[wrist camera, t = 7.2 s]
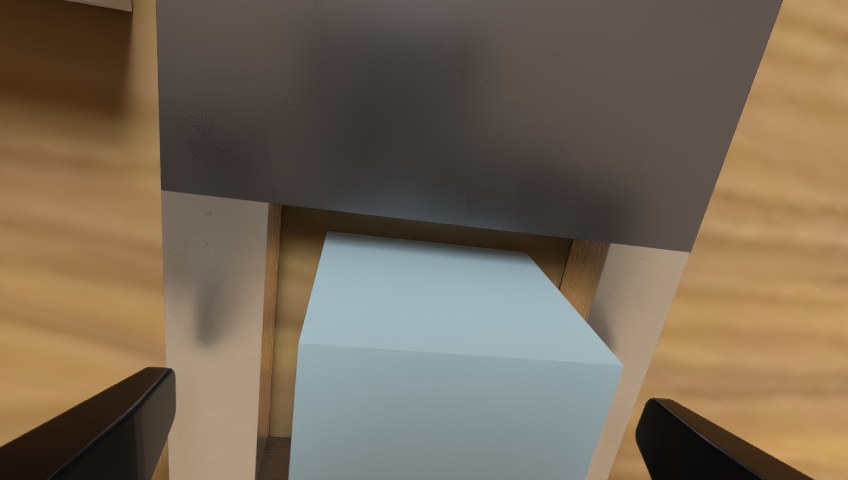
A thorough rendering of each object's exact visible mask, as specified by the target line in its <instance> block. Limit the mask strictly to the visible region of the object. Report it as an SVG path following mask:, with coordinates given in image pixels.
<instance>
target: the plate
mask: <svg viewBox="0 0 848 480" xmlns="http://www.w3.org/2000/svg"><path fill="white" fill-rule="evenodd" d="M782 2H783V0H156V20H157V56H158V92H159V128H160V164H161V200H162V236H163V273H164V309H165V345H166V368H172V369H173V370H174V372H175V376H176V413H175V418H174V421H173V424H172V427H171V429H170V432H169V434H168V453H169V480H288V478H289V465H290V451H291V438H282V437H268V434H269V417H270V400H271V383H272V366H273V349H274V332H275V315H276V298H277V281H278V265H279V248H280V231H281V214H282V205H290V206H299V207H307V208H316V209H324V210H333V211H341V212H350V213H358V214H367V215H375V216H384V217H392V218H401V219H409V220H418V221H426V222H435V223H443V224H452V225H460V226H469V227H477V228H486V229H494V230H503V231H511V232H520V233H528V234H537V235H545V236H554V237H562V238H571V239H573V243H572V247H571V250H570V254H569V257H568V261H567V265H566V268H565V272H564V275H563V279H562V283H561V286H560V290H559V291H560V292H561V294H562V295H563V296H564V297H565V298H566V299H567V300H568V302H569V303H570V304H571V305H572V306H573V307H574V309H575V310H576V311H577V312H578V313H579V314H580V315H581V317H582V318H583V319H584V320H585V321H586V322H587V324H588V325H589V326H590V327H591V328H592V329H593V330H594V332H595V333H596V334H597V335H598V336H599V337H600V339H601V340H602V341H603V342H604V343H605V344H606V345H607V347H608V348H609V349H610V350H611V351H612V352H613V354H614V355H615V356H616V357H617V358H618V359H619V360H620V362H621V363H622V364H623V365H624V367H623V370H622V373H621V376H620V379H619V382H618V385H617V387H616V390H615V393H614V396H613V399H612V402H611V405H610V408H609V411H608V414H607V417H606V420H605V423H604V426H603V429H602V431H601V434H600V437H599V440H598V443H597V446H596V449H595V452H594V455H593V458H592V461H591V464H590V467H589V470H588V472H587V475H586V478H585V480H607V479H608V476H609V474H610V471H611V468H612V465H613V463H614V460H615V457H616V455H617V452H618V449H619V446H620V444H621V441H622V438H623V435H624V433H625V430H626V427H627V425H628V422H629V419H630V416H631V414H632V411H633V408H634V405H635V403H636V400H637V397H638V394H639V392H640V389H641V386H642V384H643V381H644V378H645V375H646V373H647V370H648V367H649V364H650V362H651V359H652V356H653V354H654V351H655V348H656V345H657V343H658V340H659V337H660V334H661V332H662V329H663V326H664V324H665V321H666V318H667V315H668V313H669V310H670V307H671V304H672V302H673V299H674V296H675V294H676V291H677V288H678V285H679V283H680V280H681V277H682V274H683V272H684V269H685V266H686V264H687V261H688V258H689V255H690V253H691V250H692V247H693V244H694V242H695V239H696V236H697V234H698V231H699V228H700V225H701V223H702V220H703V217H704V214H705V212H706V209H707V206H708V204H709V201H710V198H711V195H712V193H713V190H714V187H715V184H716V182H717V179H718V176H719V174H720V171H721V168H722V165H723V163H724V160H725V157H726V154H727V152H728V149H729V146H730V144H731V141H732V138H733V135H734V133H735V130H736V127H737V124H738V122H739V119H740V116H741V114H742V111H743V108H744V105H745V103H746V100H747V97H748V94H749V92H750V89H751V86H752V84H753V81H754V78H755V75H756V73H757V70H758V67H759V64H760V62H761V59H762V56H763V54H764V51H765V48H766V45H767V43H768V40H769V37H770V34H771V32H772V29H773V26H774V24H775V21H776V18H777V15H778V13H779V10H780V7H781V4H782Z"/></svg>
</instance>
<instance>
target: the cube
mask: <svg viewBox="0 0 848 480" xmlns="http://www.w3.org/2000/svg"><path fill="white" fill-rule="evenodd" d="M623 367H624V365H623V364H622V363H621V362H620V360H619V359H618V358H617V357H616V356H615V355H614V354H613V352H612V351H611V350H610V349H609V348H608V347H607V345H606V344H605V343H604V342H603V341H602V340H601V339H600V337H599V336H598V335H597V334H596V333H595V332H594V330H593V329H592V328H591V327H590V326H589V325H588V324H587V322H586V321H585V320H584V319H583V318H582V317H581V315H580V314H579V313H578V312H577V311H576V310H575V309H574V307H573V306H572V305H571V304H570V303H569V302H568V300H567V299H566V298H565V297H564V296H563V295H562V294H561V292H560V291H559V290H558V289H557V288H556V287H555V285H554V284H553V283H552V282H551V281H550V280H549V278H548V277H547V276H546V275H545V274H544V273H543V272H542V270H541V269H540V268H539V267H538V266H537V265H536V263H535V262H534V261H533V260H532V259H531V258H530V257H529V255H528V254H527V253H526V252H520V251H511V250H501V249H492V248H482V247H473V246H464V245H454V244H445V243H436V242H426V241H417V240H408V239H398V238H389V237H379V236H370V235H361V234H351V233H342V232H333V231H327V234H326V238H325V242H324V246H323V250H322V254H321V258H320V262H319V265H318V269H317V273H316V277H315V281H314V285H313V289H312V293H311V297H310V300H309V304H308V308H307V312H306V316H305V320H304V324H303V328H302V332H301V335H300V339H299V343H298V357H297V370H296V384H295V397H294V411H293V424H292V438H291V451H290V465H289V478H288V480H585V478H586V475H587V472H588V470H589V467H590V464H591V461H592V458H593V455H594V452H595V449H596V446H597V443H598V440H599V437H600V434H601V431H602V429H603V426H604V423H605V420H606V417H607V414H608V411H609V408H610V405H611V402H612V399H613V396H614V393H615V390H616V387H617V385H618V382H619V379H620V376H621V373H622V370H623Z"/></svg>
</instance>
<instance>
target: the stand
mask: <svg viewBox="0 0 848 480" xmlns="http://www.w3.org/2000/svg"><path fill="white" fill-rule="evenodd" d="M66 1H72V2H78V3H84V4H90V5H95V6H101V7H107V8H113V9H119V10H124V11H130V12H132V3H131V0H66Z"/></svg>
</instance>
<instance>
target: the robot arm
mask: <svg viewBox="0 0 848 480" xmlns="http://www.w3.org/2000/svg"><path fill="white" fill-rule="evenodd" d="M175 413H176V376H175V372H174V370H173V369H172V368H163V367H147V368H145V369H143V370H141V371H139V372H137V373H135V374H133V375H132V376H130V377H128V378H126V379H124V380H122V381H121V382H119V383H117V384H115V385H113V386H111V387H110V388H108V389H106V390H104V391H102V392H100V393H99V394H97V395H95V396H93V397H91V398H89V399H88V400H86V401H84V402H82V403H80V404H78V405H77V406H75V407H73V408H71V409H69V410H67V411H65V412H64V413H62V414H60V415H58V416H56V417H54V418H53V419H51V420H49V421H47V422H45V423H43V424H42V425H40V426H38V427H36V428H34V429H32V430H31V431H29V432H27V433H25V434H23V435H21V436H20V437H18V438H16V439H14V440H12V441H10V442H9V443H7V444H5V445H3V446H1V447H0V480H151V478H152V476H153V473H154V471H155V468H156V465H157V463H158V460H159V458H160V455H161V453H162V450H163V447H164V445H165V442H166V440H167V437H168V434H169V432H170V429H171V427H172V424H173V421H174V418H175ZM635 436H636V442H637V445H638V448H639V450H640V452H641V455H642V457H643V460H644V462H645V464H646V467H647V469H648V472H649V474H650V477H651V479H652V480H814V479H812V478H810V477H809V476H807V475H805V474H803V473H801V472H800V471H798V470H796V469H794V468H793V467H791V466H789V465H787V464H785V463H784V462H782V461H780V460H778V459H777V458H775V457H773V456H771V455H769V454H768V453H766V452H764V451H762V450H760V449H759V448H757V447H755V446H753V445H752V444H750V443H748V442H746V441H744V440H743V439H741V438H739V437H737V436H736V435H734V434H732V433H730V432H728V431H727V430H725V429H723V428H721V427H719V426H718V425H716V424H714V423H712V422H711V421H709V420H707V419H705V418H703V417H702V416H700V415H698V414H696V413H695V412H693V411H691V410H689V409H687V408H686V407H684V406H682V405H680V404H678V403H677V402H675V401H673V400H671V399H663V398H651V399H649V400H648V401H647V402H646V404H645V407H644V409H643V412H642V415H641V417H640V420H639V423H638V425H637V428H636V433H635Z"/></svg>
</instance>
